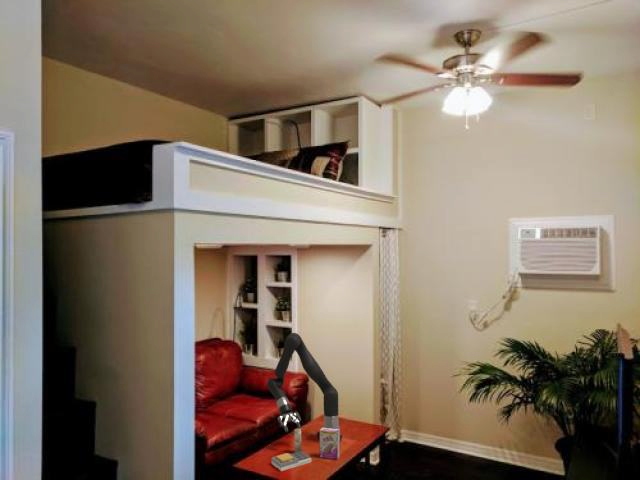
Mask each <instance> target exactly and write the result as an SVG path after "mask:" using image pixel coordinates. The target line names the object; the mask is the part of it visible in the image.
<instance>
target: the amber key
mask: <svg viewBox="0 0 640 480" xmlns="http://www.w3.org/2000/svg"><path fill="white" fill-rule="evenodd" d="M288 453H289V452H288ZM288 453H287V452H286V453H282V454H280V455H275V457H276V458H277V459H278V460H279V461H281V462H282V463H283V462H287V461H290V460H293V457H292V456H290V455H289V454H290V453H289V454H288Z"/></svg>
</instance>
